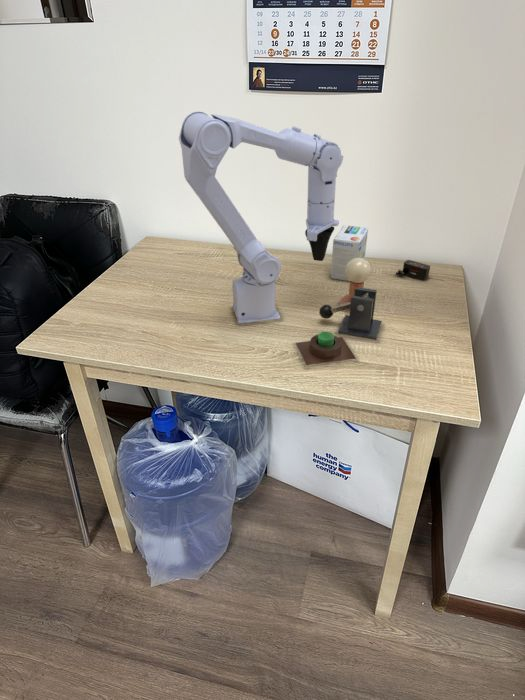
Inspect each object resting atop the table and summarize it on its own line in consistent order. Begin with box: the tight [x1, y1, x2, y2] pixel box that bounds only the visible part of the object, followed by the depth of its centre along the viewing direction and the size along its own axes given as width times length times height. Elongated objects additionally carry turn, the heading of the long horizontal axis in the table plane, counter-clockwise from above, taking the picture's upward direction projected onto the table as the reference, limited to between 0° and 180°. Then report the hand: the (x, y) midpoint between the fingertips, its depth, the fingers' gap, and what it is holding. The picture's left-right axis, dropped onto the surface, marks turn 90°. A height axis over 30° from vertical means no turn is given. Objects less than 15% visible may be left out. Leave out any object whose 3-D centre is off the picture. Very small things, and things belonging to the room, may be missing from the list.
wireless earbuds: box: [395, 259, 431, 281], centre depth 132 cm, size 5×7×3 cm, turn 50°
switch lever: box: [318, 293, 370, 320], centre depth 109 cm, size 11×3×3 cm, turn 71°
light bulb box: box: [330, 224, 369, 282], centre depth 132 cm, size 11×7×11 cm, turn 159°
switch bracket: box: [337, 287, 383, 341], centre depth 109 cm, size 8×7×9 cm
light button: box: [317, 331, 335, 347], centre depth 102 cm, size 3×3×2 cm
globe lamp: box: [340, 258, 372, 312], centre depth 116 cm, size 6×6×12 cm
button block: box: [295, 333, 357, 366], centre depth 103 cm, size 10×8×3 cm
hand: (318, 259), depth 117 cm, fingers closed
